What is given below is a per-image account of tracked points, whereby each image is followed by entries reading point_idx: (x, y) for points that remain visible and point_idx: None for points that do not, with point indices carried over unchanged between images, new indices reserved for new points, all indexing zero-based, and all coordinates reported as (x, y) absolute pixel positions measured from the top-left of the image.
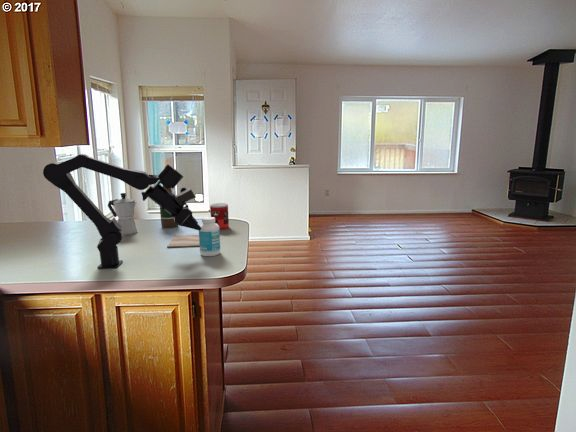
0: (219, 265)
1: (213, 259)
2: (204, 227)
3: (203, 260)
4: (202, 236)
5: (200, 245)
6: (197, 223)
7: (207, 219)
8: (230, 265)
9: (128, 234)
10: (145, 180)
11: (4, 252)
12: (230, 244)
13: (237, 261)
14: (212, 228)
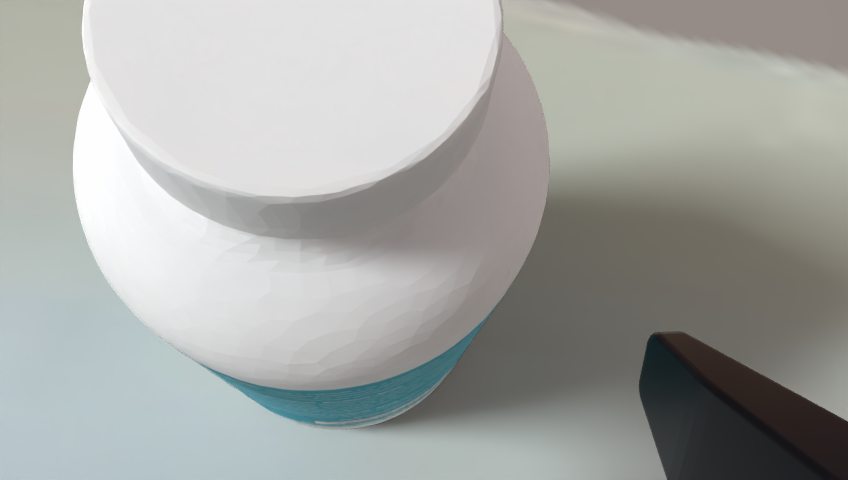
0: (781, 266)
1: (566, 297)
2: (502, 245)
3: (571, 414)
4: (462, 348)
5: (383, 411)
6: (761, 414)
7: (484, 57)
8: (799, 166)
9: None
10: None
11: None
12: (57, 29)
13: (693, 85)
14: (535, 95)
